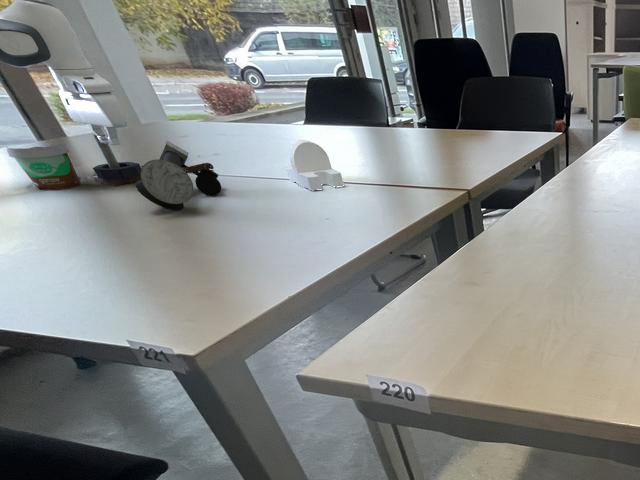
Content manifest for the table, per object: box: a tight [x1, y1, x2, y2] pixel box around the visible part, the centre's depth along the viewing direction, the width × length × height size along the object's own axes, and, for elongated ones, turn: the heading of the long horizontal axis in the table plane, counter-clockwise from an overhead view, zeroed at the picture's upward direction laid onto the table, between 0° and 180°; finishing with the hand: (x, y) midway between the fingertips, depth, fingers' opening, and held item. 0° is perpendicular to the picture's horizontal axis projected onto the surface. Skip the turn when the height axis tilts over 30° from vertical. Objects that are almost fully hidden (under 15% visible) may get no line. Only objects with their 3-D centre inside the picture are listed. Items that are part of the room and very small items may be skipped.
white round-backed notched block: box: [285, 139, 345, 191], centre depth 146 cm, size 10×18×11 cm, turn 44°
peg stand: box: [92, 133, 141, 186], centre depth 143 cm, size 9×9×12 cm
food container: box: [6, 142, 82, 191], centre depth 136 cm, size 12×6×10 cm, turn 129°
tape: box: [92, 161, 142, 180], centre depth 145 cm, size 10×10×2 cm
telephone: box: [134, 140, 222, 212], centre depth 130 cm, size 15×13×30 cm
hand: (111, 144), depth 139 cm, fingers open, 3 cm apart
